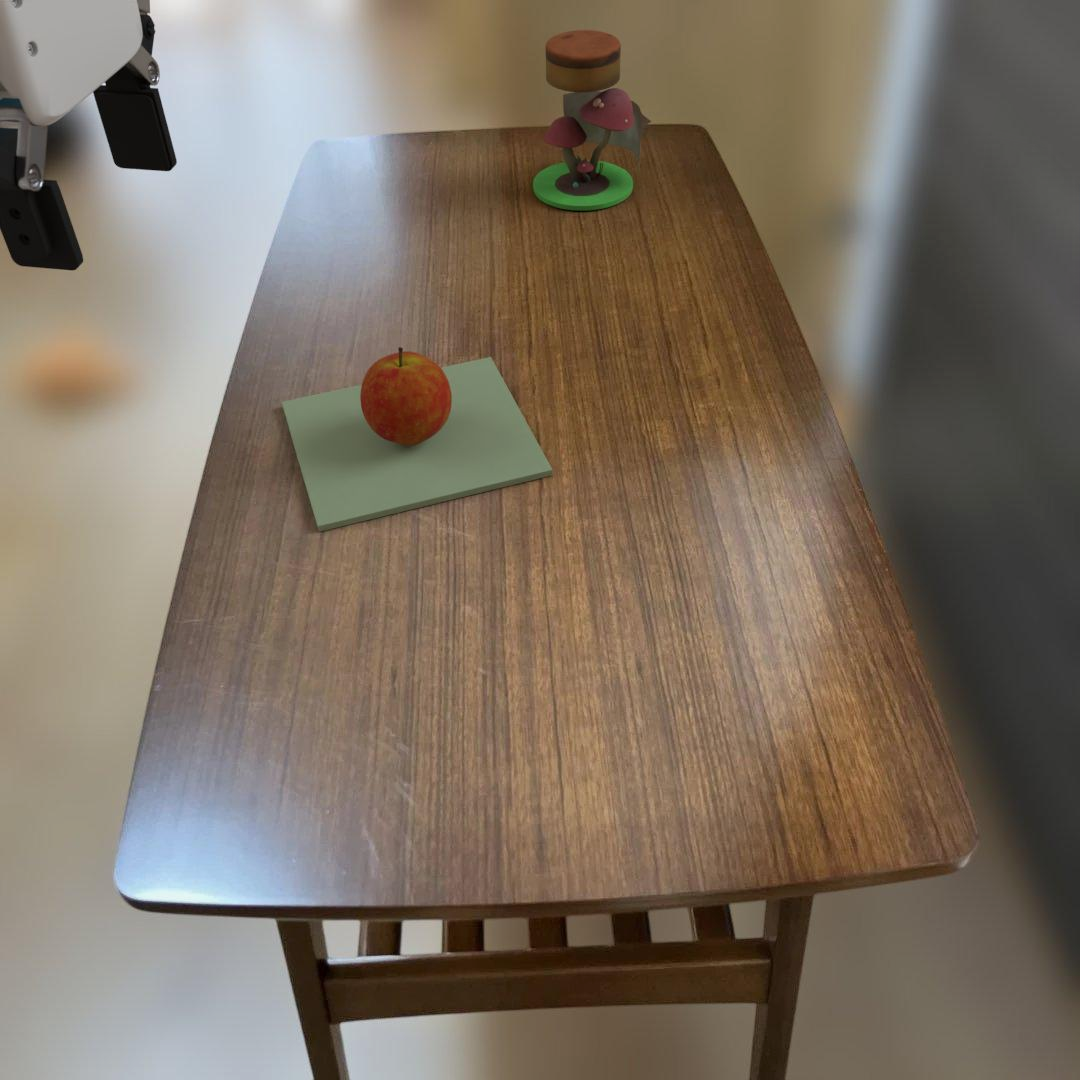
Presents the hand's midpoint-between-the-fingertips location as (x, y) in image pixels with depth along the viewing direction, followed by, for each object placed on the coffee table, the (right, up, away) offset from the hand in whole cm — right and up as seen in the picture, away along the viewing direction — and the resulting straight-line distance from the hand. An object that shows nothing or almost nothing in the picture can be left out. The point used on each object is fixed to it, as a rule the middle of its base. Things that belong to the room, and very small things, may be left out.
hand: (101, 213), depth 53 cm
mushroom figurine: (+26, +22, +66) cm, 74 cm away
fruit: (+11, -7, +35) cm, 37 cm away
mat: (+11, -8, +35) cm, 38 cm away
